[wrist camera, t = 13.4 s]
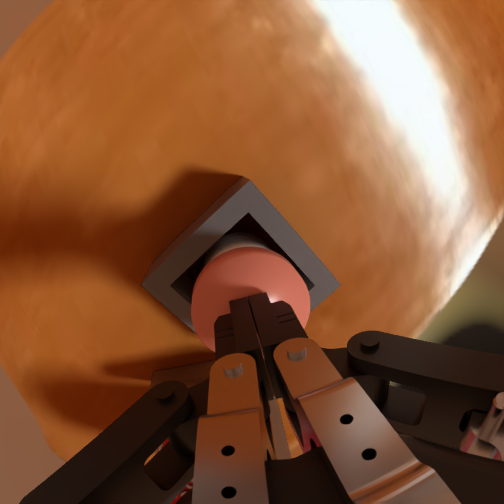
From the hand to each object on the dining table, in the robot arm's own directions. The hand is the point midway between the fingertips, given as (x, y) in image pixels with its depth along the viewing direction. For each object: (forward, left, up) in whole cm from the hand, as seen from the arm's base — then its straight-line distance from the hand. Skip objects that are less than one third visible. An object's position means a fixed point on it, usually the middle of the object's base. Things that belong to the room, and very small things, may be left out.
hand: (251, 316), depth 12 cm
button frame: (0, 0, -6) cm, 6 cm away
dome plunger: (0, 0, -5) cm, 5 cm away
